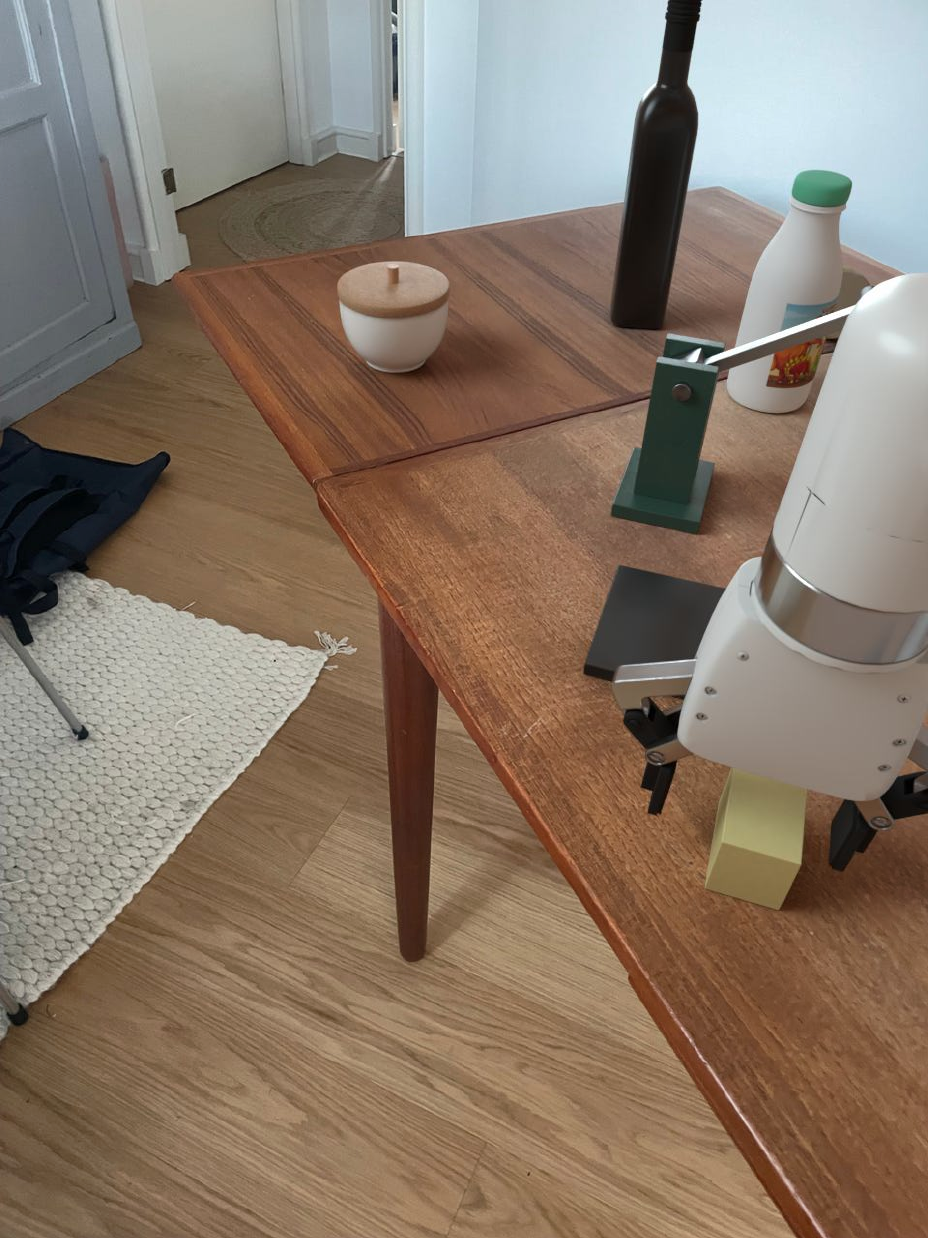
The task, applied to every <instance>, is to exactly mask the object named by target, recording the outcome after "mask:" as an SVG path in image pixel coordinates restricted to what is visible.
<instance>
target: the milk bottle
mask: <svg viewBox="0 0 928 1238" xmlns="http://www.w3.org/2000/svg"><path fill="white" fill-rule="evenodd" d="M852 189H853V181H852V180H851V178H849V177H848V176H847V175H845V174H842V173H839V172H836V171H832V170H831V171H830V170H825V169H809V170H808V169H807V170H803V171H800V172H798V173H797V174H796V176H795V177H794V180H793V184H792V188H791V196H790V197H789V204H790V208H789V211H788V213H787V216H786V217H785V219H784V220H783V223H782V225H781V226H780V228H779V230H778V231H777V232H776V234H775V235H774V237H773V238H771V240H770V241H769V243H768V245H767V246H766V247H765V248H764V250H763V252H762V253H761V255H760V257H759V260H758V261H757V264H756V266H755V268H754V272H753V274H752V278H751V282H750V285H749V289H748V291H747V296H746V300H745V304H744V308H743V312H742V316H741V319H740V324H739V329H738V333H737V337H736V340H735V345H734V348H737V347H740V346H743V345H745V344H748V343H751V342H754V341H757V340H759V339H762V338H765V337H768V336H771V335H773V334H776V333H779V332H782V331H785V330H787V329H790V328H793V327H796V326H799V325H801V324H804V323H807V322H810V321H813V320H815V319H818V318H821V317H824V316H827V315H829V314H832V313H834V310H835V307H836V303H837V299H838V295H839V292H840V288H841V282H842V274H843V267H844V263H843V253H842V248H841V241H840V240H841V239H840V221H841V215H842V212H844V211H845V210H846V209H847V203H848V201H849V200H850V199H849V198H850V196H851V192H852ZM826 337H827V335H826V336H823V337H820V338H817V339H815V340H812V341H809V342H806V343H803V344H800V345H797V346H794V347H791V348H789V349H786V350H783V351H780V352H777V353H774V354H771V355H768V356H765V357H763V358H760V359H757V360H754V361H751V362H748V363H745V364H742V365H739V366H737V367H734V368H731V369H728V375H727V380H726V388H727V393H728V395H729V396H730V398H731V399H733V401H735V402H736V403H738V404H739V405H741V406H742V407H745V408H747V409H750V410H753V411H757V412H760V413H761V412H762V413H768V414H785V413H790V412H793V411H796V410H798V409H800V408H801V407H802V406H803V405H804V404H805V403H806V402H807V400H808V397H809V395H810V392H811V389H812V386H813V383H814V379H815V377H816V374H817V373H816V372H817V370H818V367H819V363H820V360H821V356H822V353H823V351H824V350H823V349H824V347H825V343H826V340H827V339H826Z"/></svg>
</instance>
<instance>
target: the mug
mask: <svg viewBox="0 0 928 1238" xmlns="http://www.w3.org/2000/svg"><path fill="white" fill-rule="evenodd" d="M868 286H871V284H870V282H869V280H868V278H867V277H866V276H864V274H863V273H861V272H859V271H858V270H855V269H853V268H851V267H845V266H843V274H842V282H841V288H840V292H839V295H838V299H837V303H836V307H835V310H834V313H835V312H838V311H841V310H843V309H846V308H849V307H852V306H855V305H856V304H857V302H858V299H859V293H860V292H861V290H862V289H864V288H865V287H868ZM841 332H842V330H841V331H838V332H835V333H832V334H829V335H827V337H826V340H835V339H839V337H840V334H841Z"/></svg>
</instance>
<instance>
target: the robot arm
mask: <svg viewBox="0 0 928 1238" xmlns="http://www.w3.org/2000/svg"><path fill="white" fill-rule="evenodd" d="M874 286H875V287H874V288H873V289H871V290H870V291H868V292H867V293H866V294H864V296H863V297H862V298H861V299H860V300H859V301H858V302H857V304H856V305H855V307H854V308H853V309H852V311H851V312H850V314H849V316H848V317H847V320H846V322H845V325H844V327H843V329H842V332H841V334H840V337H839V338H837V342H836V345H835V348H834V350H833V354H832V357H831V359H830V361H829V365H828V368H827V371H826V374H825V377H824V379H823V382H822V385H821V388H820V392H819V393H818V396H817V400H816V402H815V406H814V409H813V411H812V414H811V417H810V419H809V422H808V426H807V428H806V431H805V433H804V436H803V440H802V442H801V445H800V447H799V451H798V454H797V457H796V459H795V462H794V465H793V468H792V470H791V473H790V476H789V479H788V482H787V485H786V488H785V491H784V493H783V496H782V499H781V502H780V505H779V508H778V510H777V513H776V516H775V519H774V521H773V525H772V527H771V530H770V532H769V535H768V539H767V541H766V544H765V547H764V550H763V553H762V556H761V557H760V556H757V557H753V558H750V559H748V560H746V561H745V562H744V563H742V564H741V565H740V566H739V568H738V569H737V571H736V572H735V573H734V575H733V577H732V578H731V579H730V581H729V582H728V584H727V586H726V588H725V589H726V590H725V592H724V593H723V595H722V597H721V599H720V600H719V602H718V604H717V607H716V609H715V611H714V613H713V615H712V617H711V619H710V621H709V624H708V626H707V628H706V631H705V633H704V635H703V638H702V640H701V643H700V645H699V648H698V651H697V653H696V656H695V659H692V660H680V661H668V662H657V663H645V664H633V665H622V666H619V667H617V668H616V671H615V674H614V677H613V680H612V681H611V684H610V691H611V693H612V696H613V698H614V700H615V703H616V705H617V707H618V709H619V711H621V713H622V716H623V718H622V723H623V725H624V727H625V728H626V729H627V730H628V731H629V732H630V733H631V734H632V736H633V737H634V738H635V739H636V740H637V742H639V744H640V745H641V746H642V747H643V748H644V749H645V752H644V759H645V760H646V764H645V767H644V771H643V775H642V779H641V783H640V787H639V788H640V789H643V790H647V791H650V792H651V795H650V798H649V799H650V800H649V804H648V808H647V814H649V815H652V816H655V817H657V815H662V813H663V809H664V806H665V804H666V800H667V797H668V794H669V791H670V789H671V786H672V783H673V779H674V777H675V773H676V768H677V764H678V761H679V760H682V759H685V758H687V757H689V756H692V755H696V756H697V757H700V758H701V759H705V760H707V761H710V762H712V763H715V764H719V765H722V766H726V767H729V768H731V767H732V768H735V769H738V770H742V771H745V772H749V773H752V774H756V775H759V776H762V777H766V778H769V779H773V780H776V781H780V782H783V783H787V784H790V785H794V786H797V787H801V788H804V789H808V790H809V791H811V792H816V793H820V794H823V795H826V796H830V797H835V798H839V799H843V801H842V803H841V804H840V805H839V807H838V810H837V811H836V813H835V814H834V816H833V818H832V820H831V824H830V835H829V851H828V866H830V867H831V869H832V870H833V871H838V872H841V873H843V872H844V871H845V870H846V868H848V865H849V863H851V860H852V858H853V857H854V855H855V854H856V853H859V854H862V855H863V854H864V853H865V852H866V851H867V850H868V847H869V846H870V845H871V843H872V841H873V840H874V838H875V836H876V835H877V833H878V832H879V831H880V832H885V831H890V830H892V829H893V828H894V827H895V820H896V821H898V820H901V819H907V818H911V817H917V816H922V815H928V726H926V725H925V724H924V720H925V718H926V715H927V713H928V271H927V272H913V273H906V274H902V275H898V276H895V277H893V278H890V279H887V280H884V281H882V282H879V283H878V284H877V285H874ZM677 695H686V696H685V699H683V702H680V703H678V704H675V705H674V706H671V707H669V708H666V709H664V710H662V709H661V708H660V707H659V705H657V703H656V702H655V701H654V700H653V699H652V698H660V697H673V696H677ZM907 759H908V760H909V761H911V762H912V763H913V764H915V765H917V766H918V767H920V768H921V769H922V771H916V772H911V773H907V774H903V775H900V773H901V771H902V769H903V767H904V765H905V763H906V761H907Z"/></svg>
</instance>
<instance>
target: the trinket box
mask: <svg viewBox="0 0 928 1238" xmlns="http://www.w3.org/2000/svg"><path fill="white" fill-rule="evenodd" d="M336 289H337V298H338V300H339V311H340V318H341V323H342V327H343V331H344V333H345V336H346V338H347V340H348V343H349V344H350V346H351V347H352V348H353V350H354V351H355V353H357V355H359V356H360V357H361V358H362V359H363V360H365V362H366V364H367V365H368V366H369V367H371V368H372V369H374V370H376V371H380V372H384V373H390V374H400V373H408V372H412V371H415V370H417V369H419V368H421V367H422V366H423V365H424V364H425V363H426V361H427V360H428V359H429V358H431V356H432V355H434V353H435V352H436V350H437V349H438V347H439V346H440V345H441V342H442V340H443V338H444V335H445V334H446V333H445V332H446V329H447V324H448V316H449V299H450V293H451V284H450V281H449V279H448V278H447V276H446V275H445V274H443V272H441V271H439V270H438V269H435V268H433V267H430V266H427V265H425V264H421V263H416V262H409V261H378V262H372V263H368V264H363V265H360V266H357V267H353V268H352V269H350V270H348V271H346V272H345V273H343V274H342V276H341V277H340V278H339V279H338V281H337V285H336Z"/></svg>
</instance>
